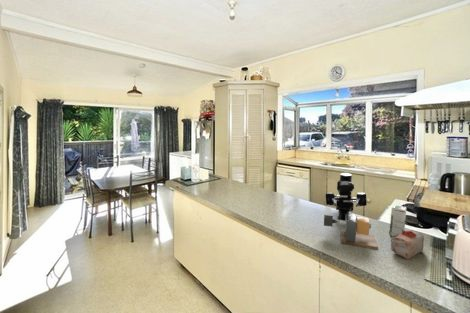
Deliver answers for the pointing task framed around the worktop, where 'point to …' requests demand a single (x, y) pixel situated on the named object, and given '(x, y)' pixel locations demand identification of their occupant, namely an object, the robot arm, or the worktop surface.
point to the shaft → (334, 221)
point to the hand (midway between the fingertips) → (345, 205)
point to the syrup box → (397, 220)
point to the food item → (407, 244)
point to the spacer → (362, 225)
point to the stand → (356, 235)
